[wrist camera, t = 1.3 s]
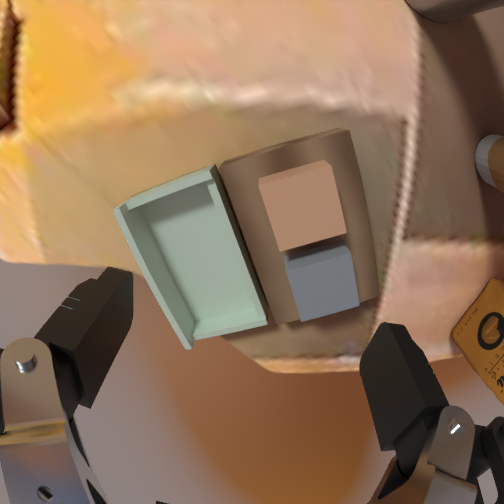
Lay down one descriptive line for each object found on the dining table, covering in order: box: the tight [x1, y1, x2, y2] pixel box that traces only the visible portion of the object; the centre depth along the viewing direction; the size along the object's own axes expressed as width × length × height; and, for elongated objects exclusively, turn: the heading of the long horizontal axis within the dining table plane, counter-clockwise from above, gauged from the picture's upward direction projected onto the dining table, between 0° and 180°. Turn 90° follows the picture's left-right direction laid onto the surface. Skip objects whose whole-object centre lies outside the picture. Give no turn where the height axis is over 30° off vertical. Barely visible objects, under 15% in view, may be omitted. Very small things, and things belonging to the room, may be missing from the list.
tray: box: [113, 165, 268, 350], centre depth 32 cm, size 10×18×5 cm, turn 18°
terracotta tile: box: [258, 160, 347, 252], centre depth 26 cm, size 6×6×3 cm
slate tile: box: [284, 240, 360, 322], centre depth 29 cm, size 6×6×3 cm
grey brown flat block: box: [219, 128, 380, 325], centre depth 30 cm, size 12×18×4 cm, turn 18°
